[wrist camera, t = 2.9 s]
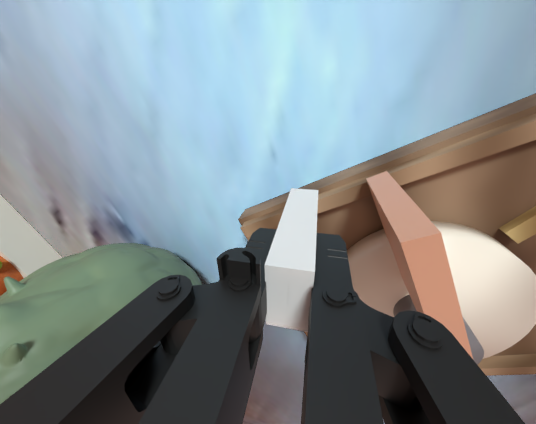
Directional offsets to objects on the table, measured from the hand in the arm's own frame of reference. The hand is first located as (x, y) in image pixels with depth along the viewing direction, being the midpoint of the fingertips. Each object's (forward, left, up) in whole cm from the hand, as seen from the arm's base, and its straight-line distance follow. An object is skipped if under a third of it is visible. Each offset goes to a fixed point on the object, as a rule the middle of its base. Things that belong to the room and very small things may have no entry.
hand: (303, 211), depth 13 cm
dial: (-4, +9, -4) cm, 11 cm away
